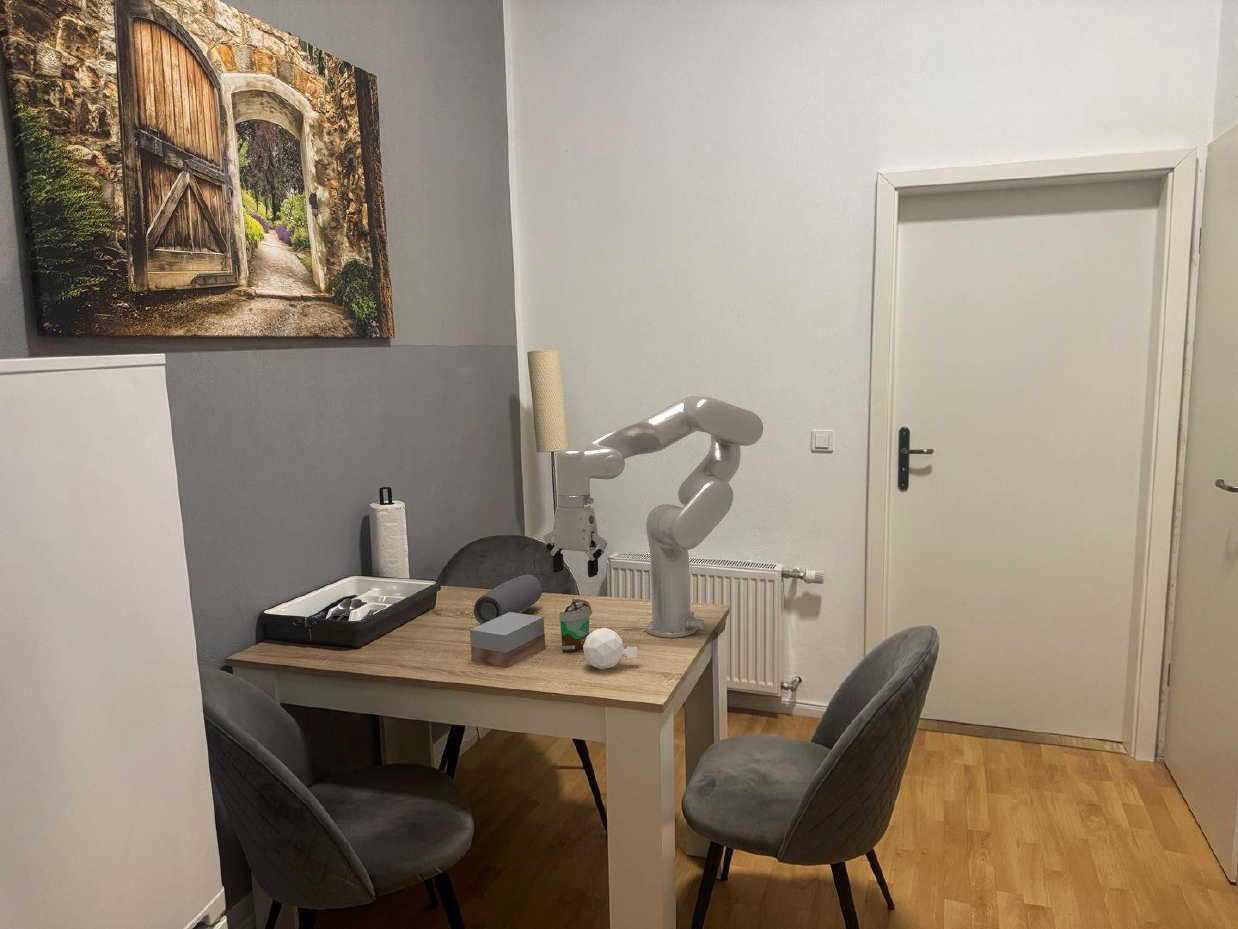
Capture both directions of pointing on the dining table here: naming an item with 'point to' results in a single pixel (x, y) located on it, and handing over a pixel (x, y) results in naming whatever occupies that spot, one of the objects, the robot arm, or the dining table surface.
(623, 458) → the robot arm
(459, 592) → the dining table surface
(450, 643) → the dining table surface
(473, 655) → the walnut slab
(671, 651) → the dining table surface
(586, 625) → the food container
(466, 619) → the dining table surface
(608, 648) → the perfume bottle
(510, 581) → the bluetooth speaker
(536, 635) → the grey slab
